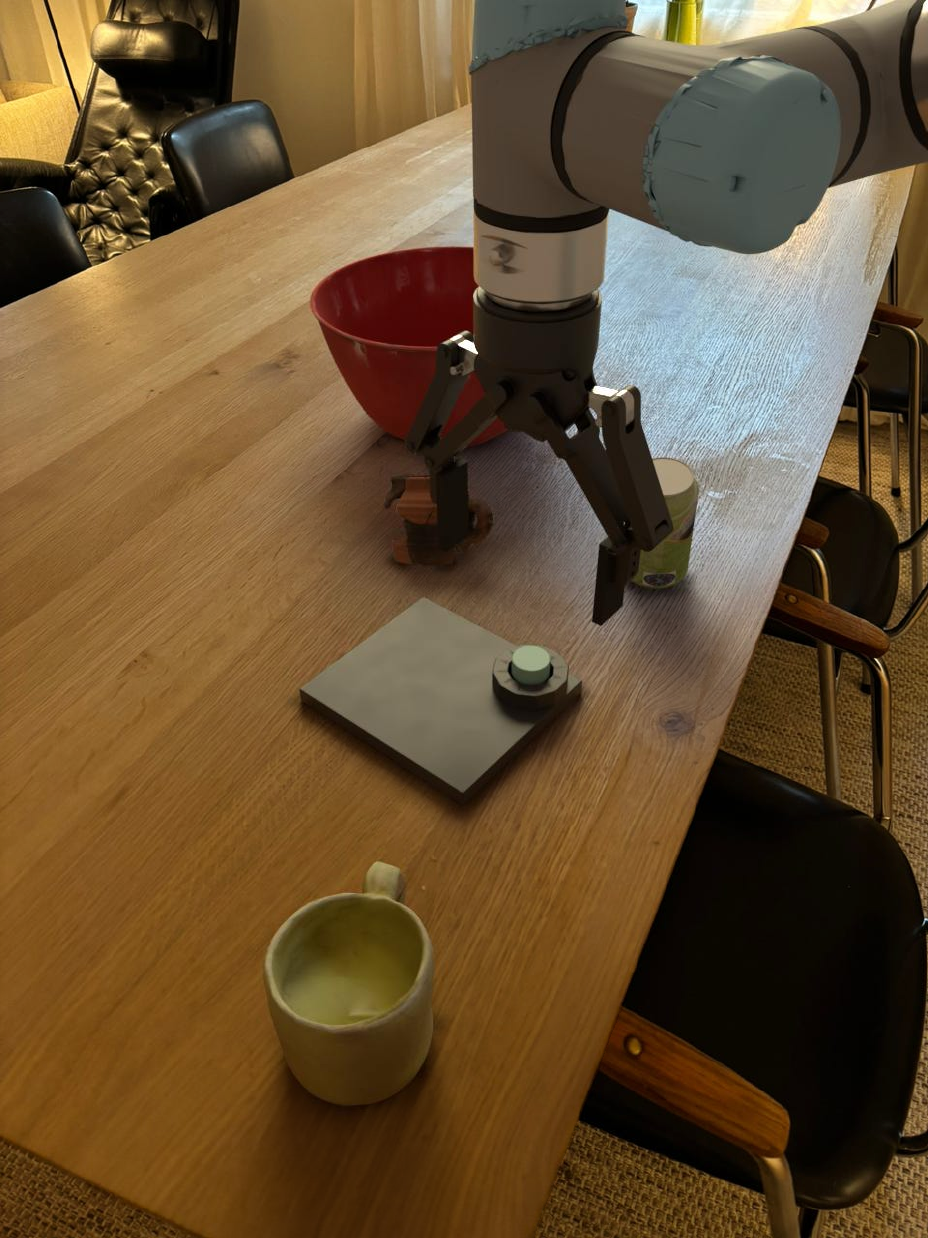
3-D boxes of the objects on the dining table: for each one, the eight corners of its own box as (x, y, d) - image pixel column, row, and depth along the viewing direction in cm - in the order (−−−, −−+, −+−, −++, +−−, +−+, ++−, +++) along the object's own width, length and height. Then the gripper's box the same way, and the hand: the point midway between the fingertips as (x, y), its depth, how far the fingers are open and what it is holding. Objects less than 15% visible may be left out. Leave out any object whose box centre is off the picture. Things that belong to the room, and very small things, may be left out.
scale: (581, 692, 80) (583, 665, 78) (463, 806, 71) (462, 778, 70) (424, 608, 89) (422, 582, 87) (300, 701, 80) (296, 673, 78)
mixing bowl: (309, 381, 123) (293, 256, 113) (529, 353, 128) (533, 231, 118) (346, 503, 102) (331, 363, 92) (607, 464, 107) (620, 327, 97)
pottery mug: (363, 563, 95) (362, 476, 93) (418, 554, 103) (417, 474, 101) (472, 570, 88) (472, 477, 87) (521, 561, 96) (522, 475, 95)
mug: (411, 1161, 51) (363, 1014, 48) (259, 1114, 56) (205, 977, 53) (508, 991, 61) (474, 858, 57) (370, 963, 66) (331, 839, 62)
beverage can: (686, 558, 94) (705, 447, 86) (685, 607, 88) (704, 493, 81) (620, 551, 95) (632, 441, 87) (614, 599, 89) (627, 486, 82)
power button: (557, 670, 78) (558, 656, 77) (534, 691, 77) (535, 676, 76) (526, 654, 80) (527, 640, 79) (503, 674, 78) (504, 660, 77)
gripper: (337, 257, 61) (364, 538, 75) (698, 369, 49) (651, 679, 63) (417, 224, 66) (428, 494, 79) (766, 319, 54) (708, 619, 67)
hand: (526, 576), depth 71 cm, fingers open, 13 cm apart
